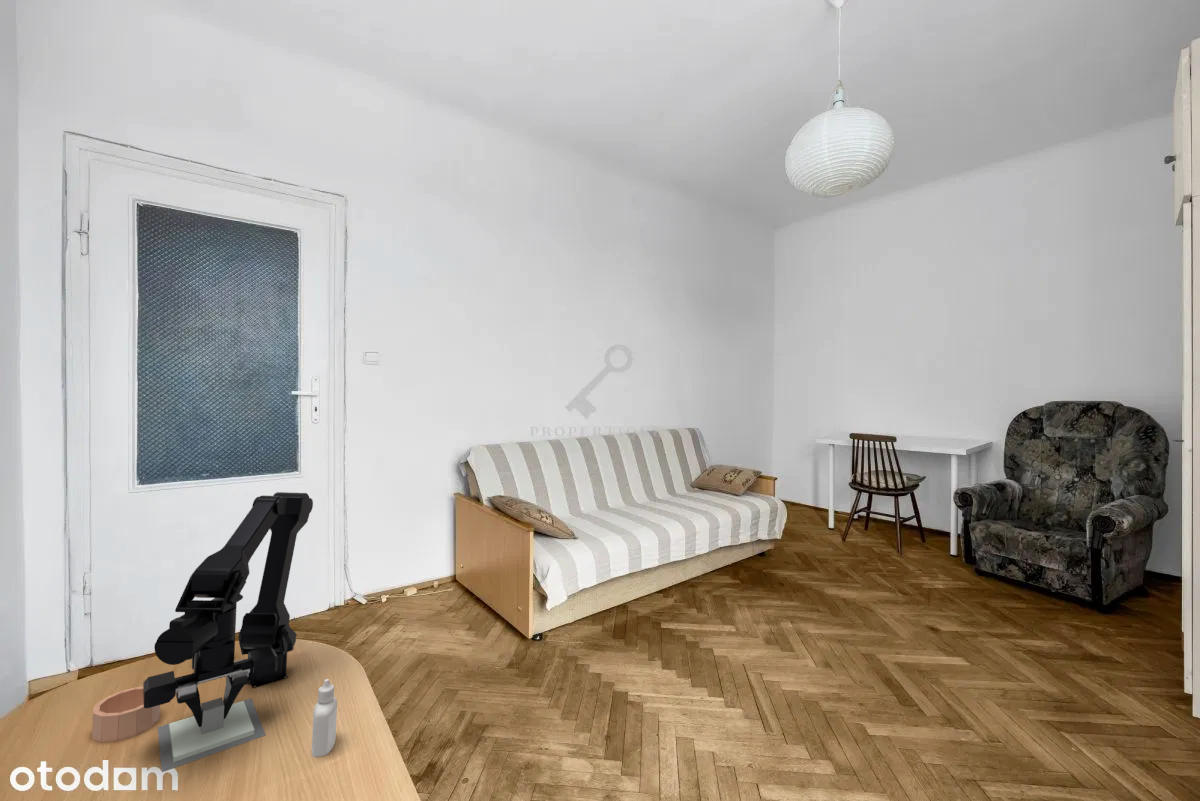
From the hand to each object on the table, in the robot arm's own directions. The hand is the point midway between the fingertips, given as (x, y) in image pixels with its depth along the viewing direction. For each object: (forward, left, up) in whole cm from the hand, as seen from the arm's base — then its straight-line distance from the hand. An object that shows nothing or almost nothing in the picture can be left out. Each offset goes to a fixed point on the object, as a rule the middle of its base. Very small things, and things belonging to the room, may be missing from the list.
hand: (211, 722), depth 91 cm
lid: (0, 0, -2) cm, 2 cm away
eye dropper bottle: (-14, +16, -2) cm, 21 cm away
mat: (0, 0, -2) cm, 2 cm away
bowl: (+11, -11, -2) cm, 16 cm away
